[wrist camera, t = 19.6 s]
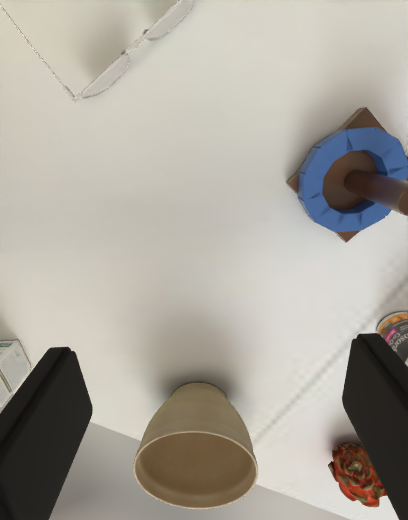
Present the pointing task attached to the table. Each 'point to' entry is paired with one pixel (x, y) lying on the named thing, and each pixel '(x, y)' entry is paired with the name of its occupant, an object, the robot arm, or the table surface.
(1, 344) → the syrup box
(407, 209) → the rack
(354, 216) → the blue ring
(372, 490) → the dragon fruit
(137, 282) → the table surface
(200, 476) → the planter bowl
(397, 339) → the pill bottle
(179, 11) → the eyeglasses
